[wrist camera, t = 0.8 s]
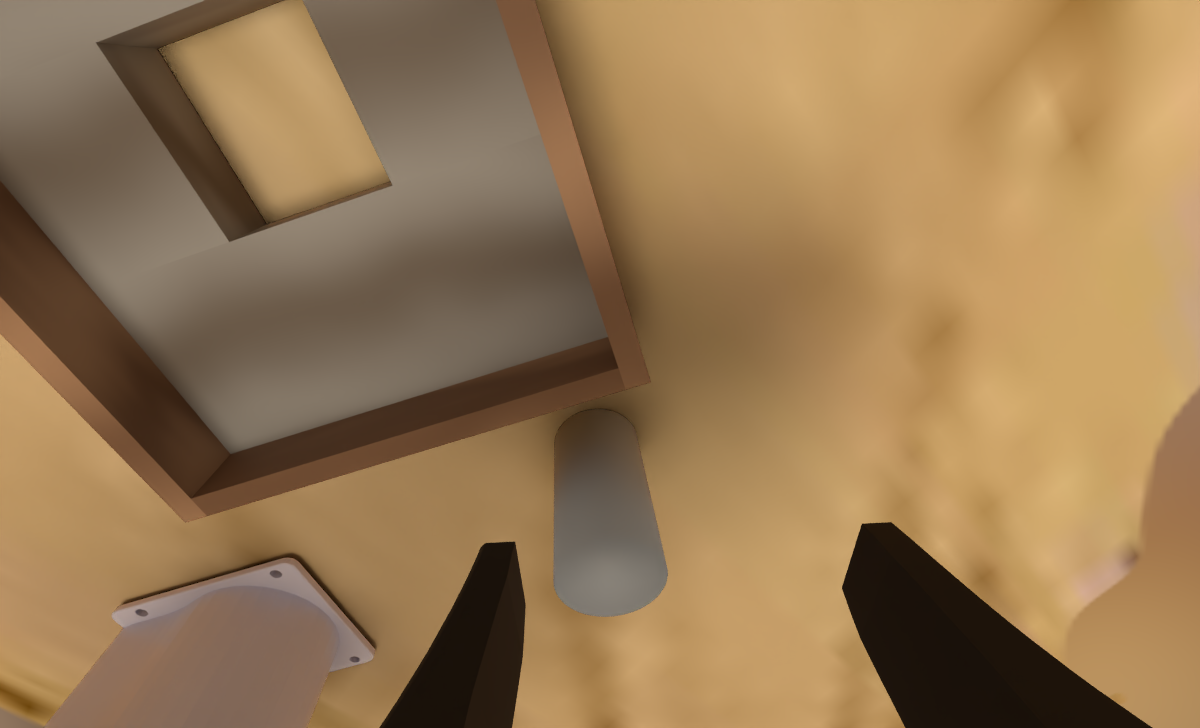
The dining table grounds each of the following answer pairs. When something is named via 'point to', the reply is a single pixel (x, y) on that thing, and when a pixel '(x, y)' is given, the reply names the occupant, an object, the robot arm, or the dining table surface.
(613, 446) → the peg
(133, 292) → the box
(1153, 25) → the dining table surface
